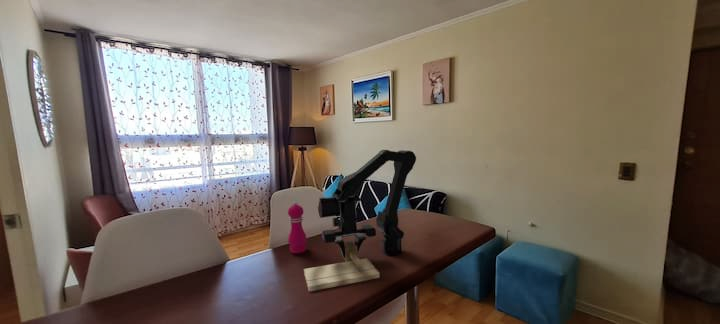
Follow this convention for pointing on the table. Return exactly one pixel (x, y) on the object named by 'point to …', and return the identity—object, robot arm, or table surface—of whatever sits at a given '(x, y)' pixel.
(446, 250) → the table surface
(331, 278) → the board
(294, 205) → the pepper mill
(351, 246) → the wooden mallet
